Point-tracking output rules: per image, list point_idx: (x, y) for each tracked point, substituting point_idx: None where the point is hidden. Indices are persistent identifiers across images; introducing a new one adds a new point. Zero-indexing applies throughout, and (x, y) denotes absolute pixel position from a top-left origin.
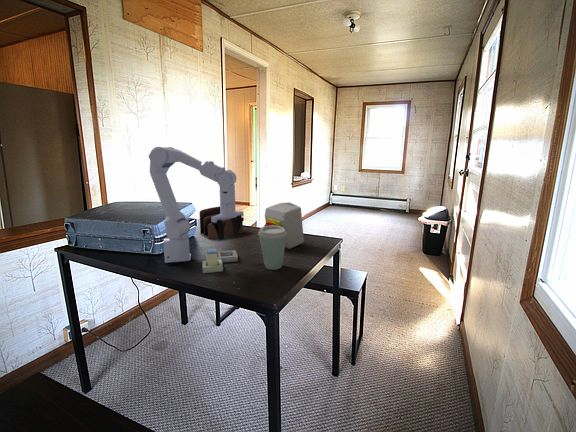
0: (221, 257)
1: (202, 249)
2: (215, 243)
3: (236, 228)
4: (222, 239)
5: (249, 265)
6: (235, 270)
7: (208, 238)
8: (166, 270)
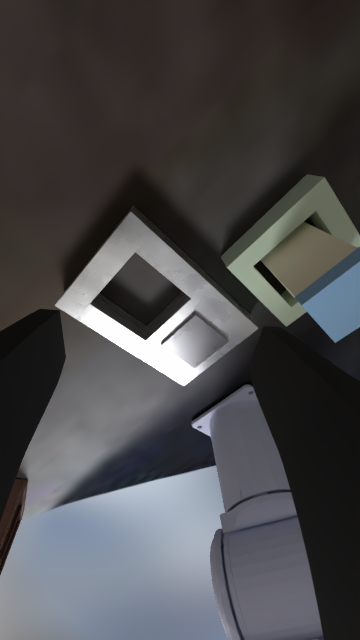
0: (201, 286)
1: (123, 429)
2: (36, 442)
3: (17, 386)
4: (277, 329)
5: (143, 58)
6: (271, 99)
7: (26, 482)
8: (353, 376)
